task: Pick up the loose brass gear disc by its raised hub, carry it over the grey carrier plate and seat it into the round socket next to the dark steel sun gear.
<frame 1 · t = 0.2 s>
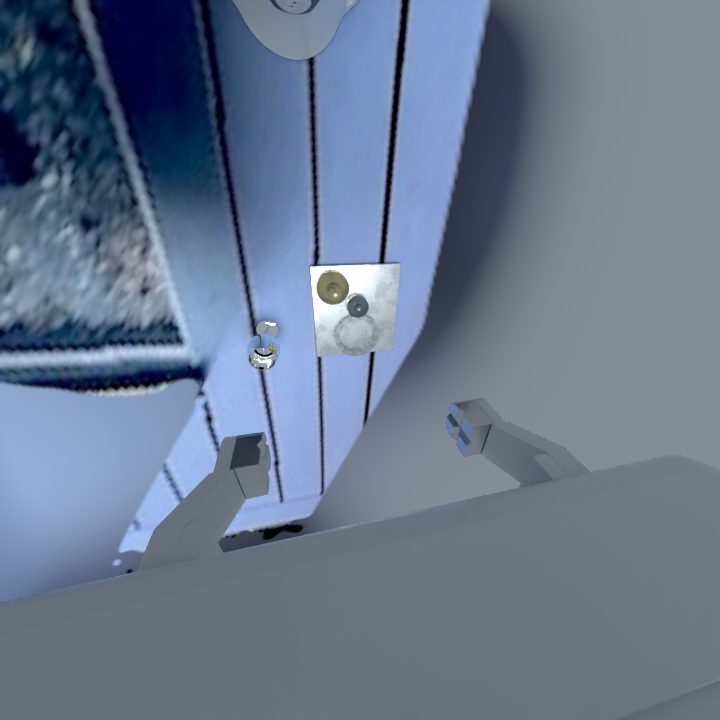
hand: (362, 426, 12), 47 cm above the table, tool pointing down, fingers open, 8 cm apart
planet gear: (332, 286, 55), point 1 cm above the table, touching carrier
carrier: (355, 311, 60), on the table
wineglass: (267, 329, 58), on the table
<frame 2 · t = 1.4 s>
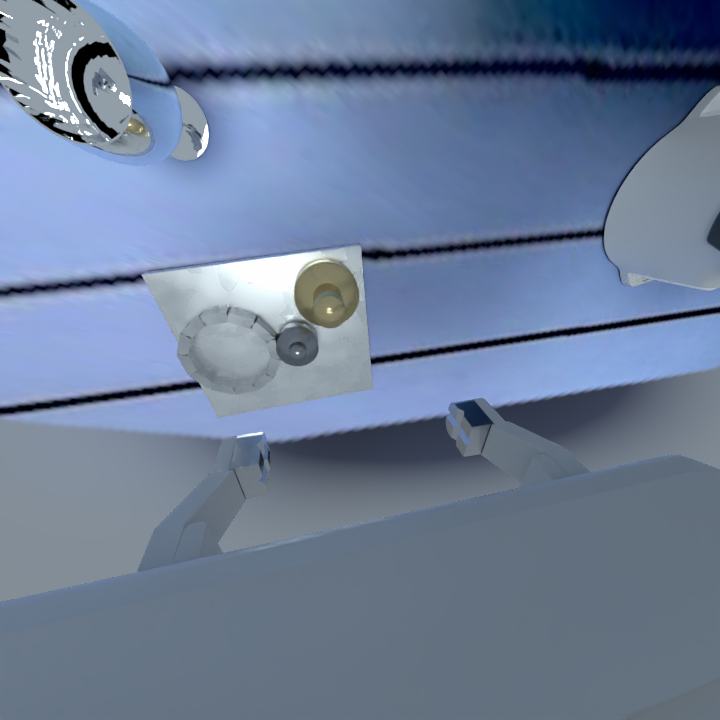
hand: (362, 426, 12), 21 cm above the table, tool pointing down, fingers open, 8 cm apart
planet gear: (326, 291, 28), point 1 cm above the table, touching carrier
carrier: (280, 337, 31), on the table
wineglass: (177, 124, 21), on the table
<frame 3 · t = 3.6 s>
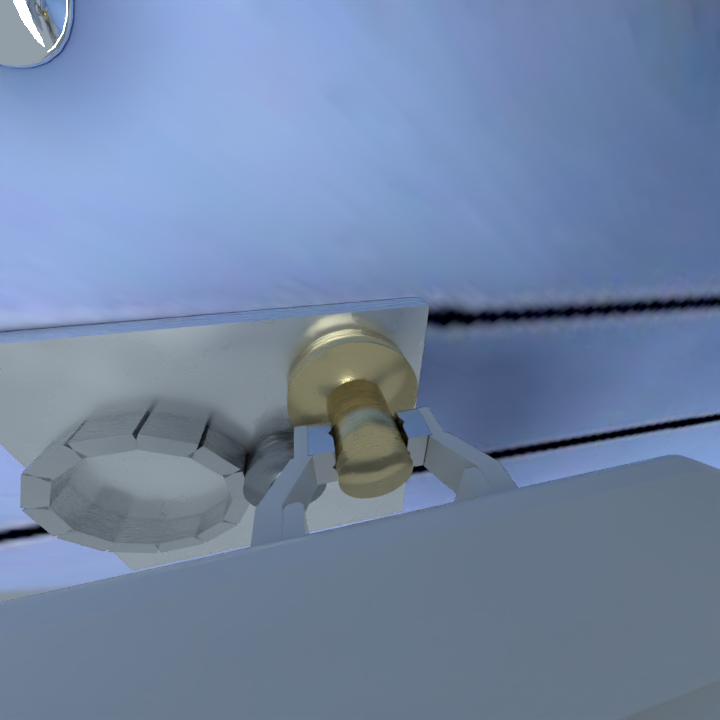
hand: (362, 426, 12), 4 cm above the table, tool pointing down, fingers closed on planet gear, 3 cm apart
planet gear: (349, 383, 15), point 1 cm above the table, touching carrier, gripper
carrier: (254, 447, 17), on the table
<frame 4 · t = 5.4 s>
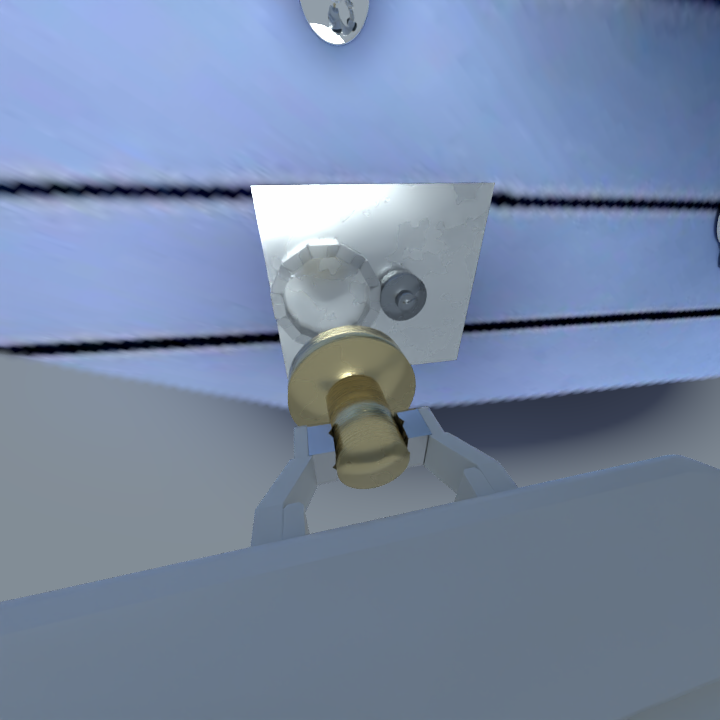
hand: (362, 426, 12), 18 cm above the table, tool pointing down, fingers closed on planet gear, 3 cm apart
planet gear: (348, 379, 15), point 15 cm above the table, touching gripper
carrier: (375, 289, 28), on the table
when the fingers open (5 cm above the table, at t = 7.1 s): planet gear stays where it is, resting on carrier.
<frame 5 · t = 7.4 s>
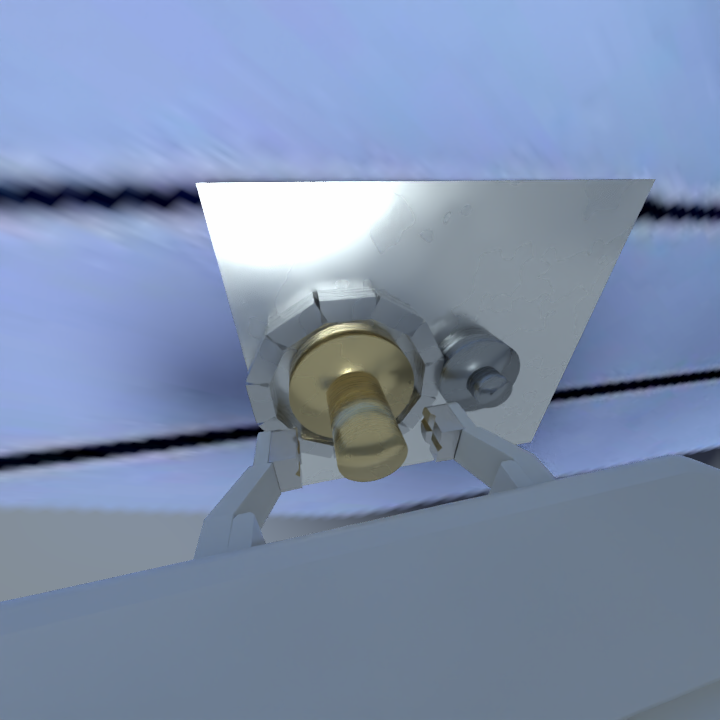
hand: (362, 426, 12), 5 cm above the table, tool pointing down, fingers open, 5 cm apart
planet gear: (348, 375, 15), point 1 cm above the table, touching carrier
carrier: (423, 354, 17), on the table
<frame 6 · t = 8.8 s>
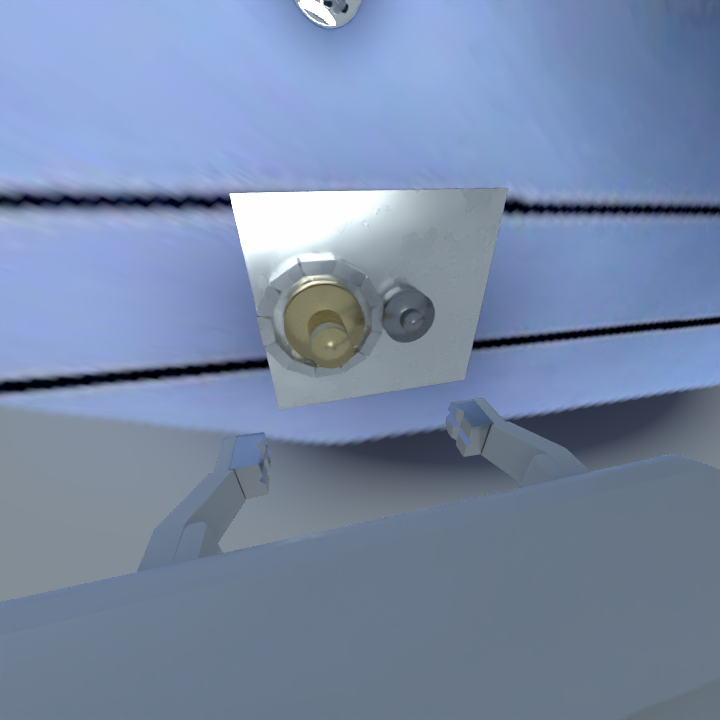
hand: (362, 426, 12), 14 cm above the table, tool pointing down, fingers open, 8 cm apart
planet gear: (323, 318, 23), point 1 cm above the table, touching carrier
carrier: (375, 307, 25), on the table
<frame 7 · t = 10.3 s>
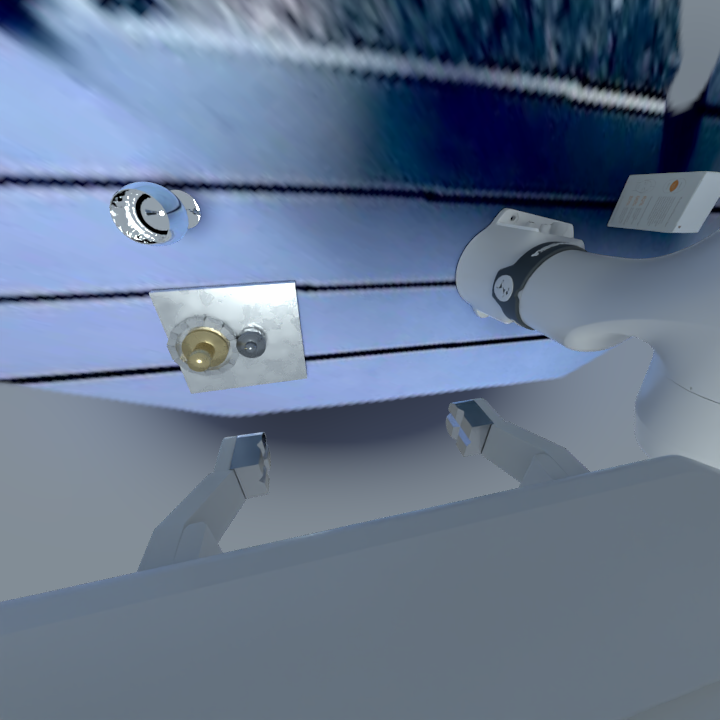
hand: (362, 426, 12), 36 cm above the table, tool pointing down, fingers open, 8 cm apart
planet gear: (207, 345, 44), point 1 cm above the table, touching carrier
carrier: (240, 338, 46), on the table
small box: (627, 201, 49), on the table
wineglass: (181, 209, 35), on the table
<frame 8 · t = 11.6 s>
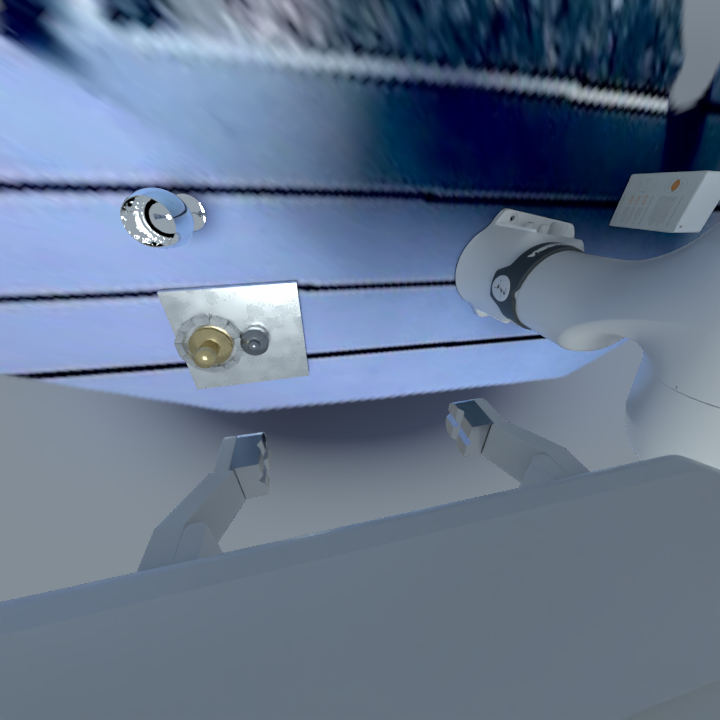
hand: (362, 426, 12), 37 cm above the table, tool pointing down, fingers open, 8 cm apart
planet gear: (212, 342, 46), point 1 cm above the table, touching carrier
carrier: (244, 336, 47), on the table
small box: (629, 201, 49), on the table
wineglass: (188, 212, 37), on the table
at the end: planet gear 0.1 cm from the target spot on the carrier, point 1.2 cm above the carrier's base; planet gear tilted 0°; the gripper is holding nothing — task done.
